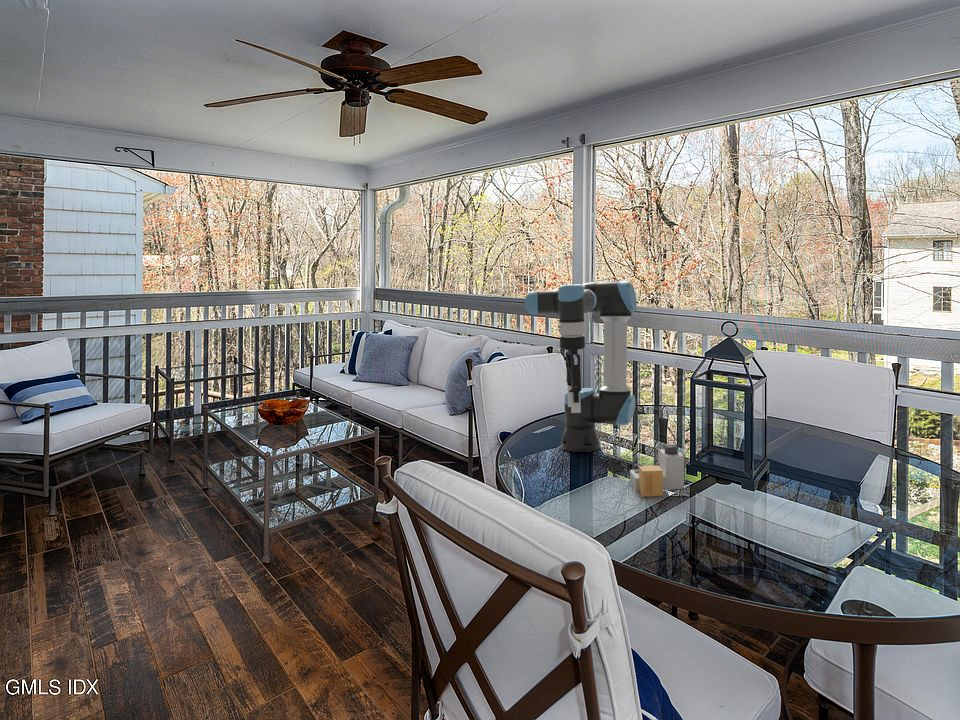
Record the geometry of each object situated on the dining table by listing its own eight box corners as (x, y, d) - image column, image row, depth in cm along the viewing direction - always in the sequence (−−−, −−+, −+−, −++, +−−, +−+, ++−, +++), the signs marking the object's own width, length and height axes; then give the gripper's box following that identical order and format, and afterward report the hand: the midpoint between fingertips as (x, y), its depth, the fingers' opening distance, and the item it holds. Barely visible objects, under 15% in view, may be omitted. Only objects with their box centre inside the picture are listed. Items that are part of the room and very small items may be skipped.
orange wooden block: (643, 497, 173) (642, 471, 171) (639, 490, 177) (638, 466, 176) (663, 496, 172) (663, 470, 171) (658, 490, 177) (658, 465, 176)
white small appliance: (639, 498, 173) (639, 457, 171) (629, 483, 185) (629, 444, 183) (689, 496, 173) (689, 455, 171) (676, 481, 185) (676, 442, 183)
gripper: (556, 332, 182) (558, 402, 186) (563, 340, 163) (566, 418, 166) (579, 331, 182) (581, 401, 186) (590, 338, 162) (591, 417, 166)
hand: (574, 409), depth 176 cm, fingers open, 7 cm apart
